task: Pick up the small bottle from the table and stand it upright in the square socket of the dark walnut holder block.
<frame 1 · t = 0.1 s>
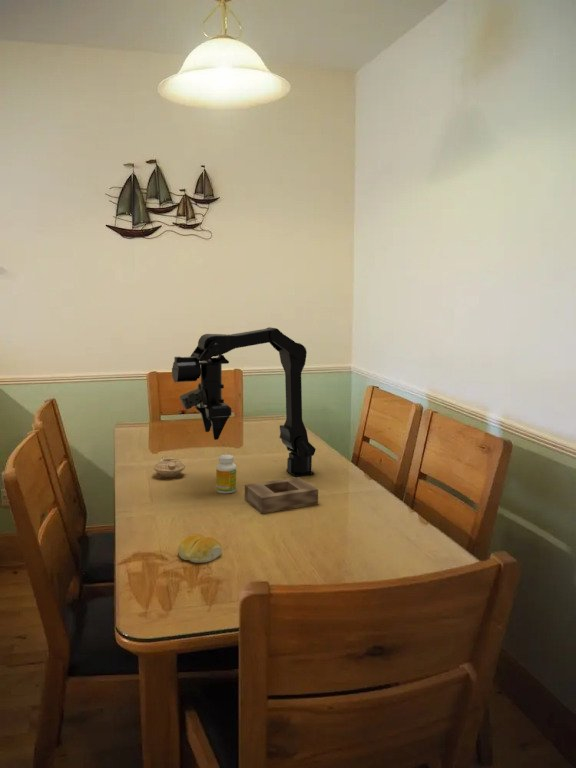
hand: (211, 435, 168), 14 cm above the table, tool pointing down, fingers open, 9 cm apart
bread roll: (200, 555, 127), on the table
walnut holder: (281, 501, 158), on the table
pottery oil lamp: (170, 474, 180), on the table
supplement bottle: (226, 491, 166), on the table
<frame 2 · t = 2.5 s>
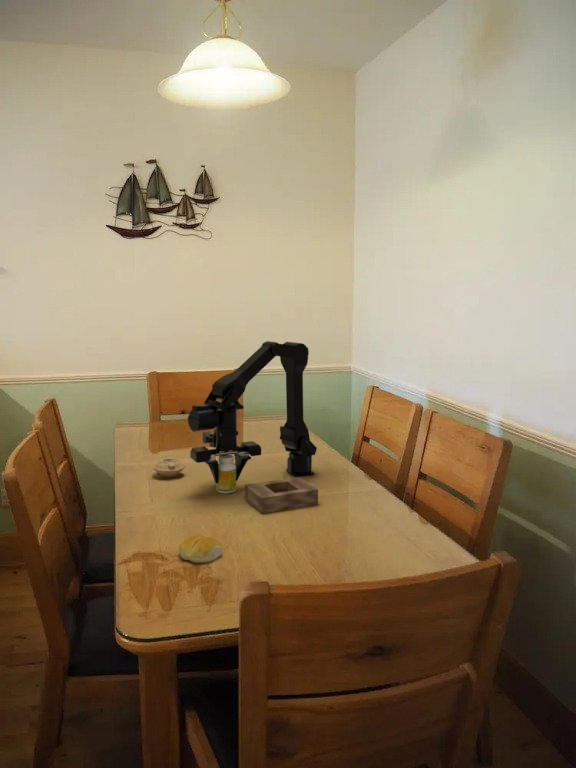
hand: (226, 481, 166), 3 cm above the table, tool pointing down, fingers closed on supplement bottle, 5 cm apart
supplement bottle: (226, 491, 166), on the table, touching gripper
everything else where it was.
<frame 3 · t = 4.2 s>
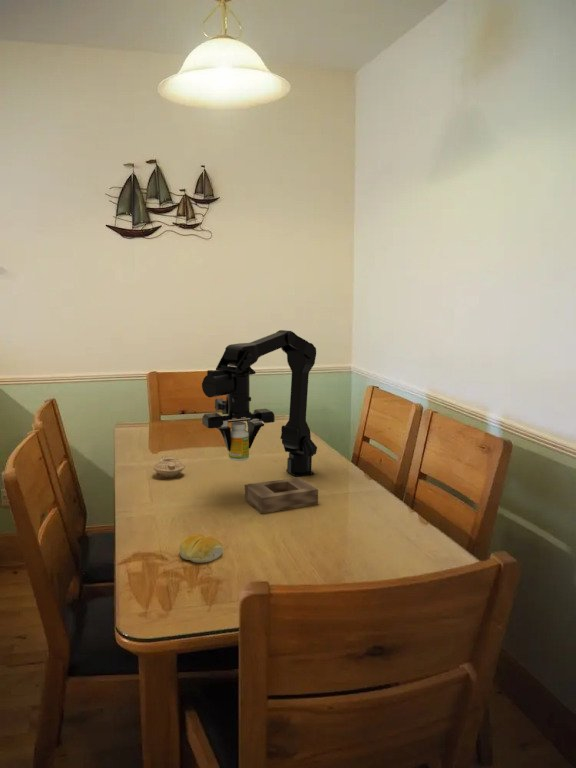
hand: (239, 449, 162), 12 cm above the table, tool pointing down, fingers closed on supplement bottle, 5 cm apart
supplement bottle: (238, 459, 163), point 10 cm above the table, touching gripper
everything else where it was.
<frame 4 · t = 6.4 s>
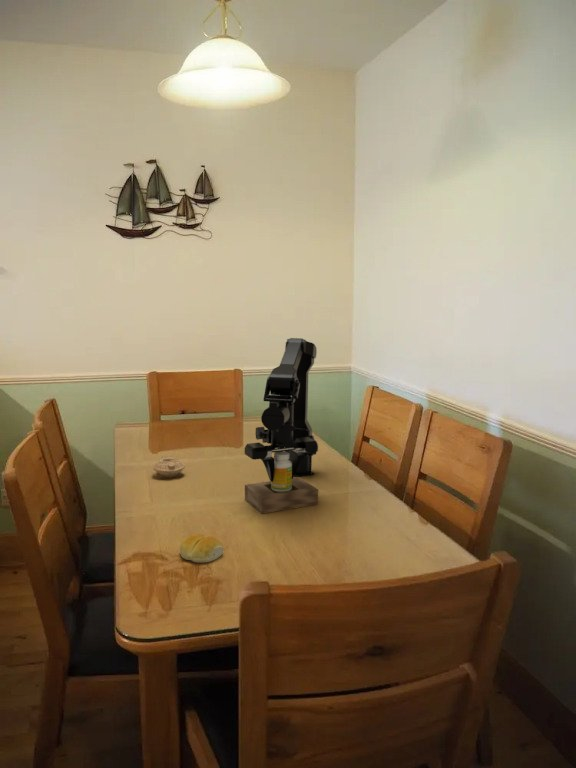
hand: (281, 479, 157), 6 cm above the table, tool pointing down, fingers closed on supplement bottle, 5 cm apart
supplement bottle: (281, 489, 158), point 3 cm above the table, touching gripper
everything else where it was.
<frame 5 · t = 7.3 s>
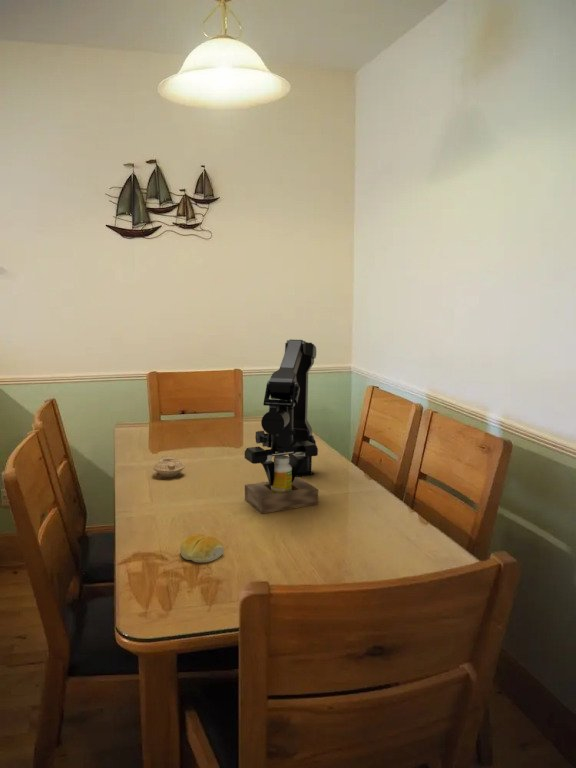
hand: (281, 483, 157), 5 cm above the table, tool pointing down, fingers closed on supplement bottle, 5 cm apart
supplement bottle: (281, 493, 158), point 2 cm above the table, touching gripper
everything else where it was.
when the fingers open (5 cm above the table, at t = 7.5 s): supplement bottle drops 2 cm, resting on walnut holder.
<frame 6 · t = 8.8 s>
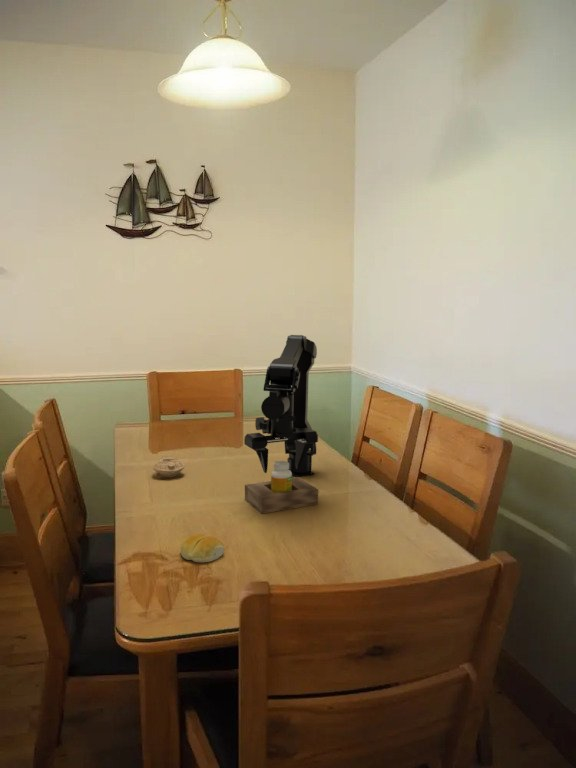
hand: (281, 470, 156), 9 cm above the table, tool pointing down, fingers open, 9 cm apart
supplement bottle: (281, 499, 158), point 1 cm above the table, touching walnut holder
everything else where it was.
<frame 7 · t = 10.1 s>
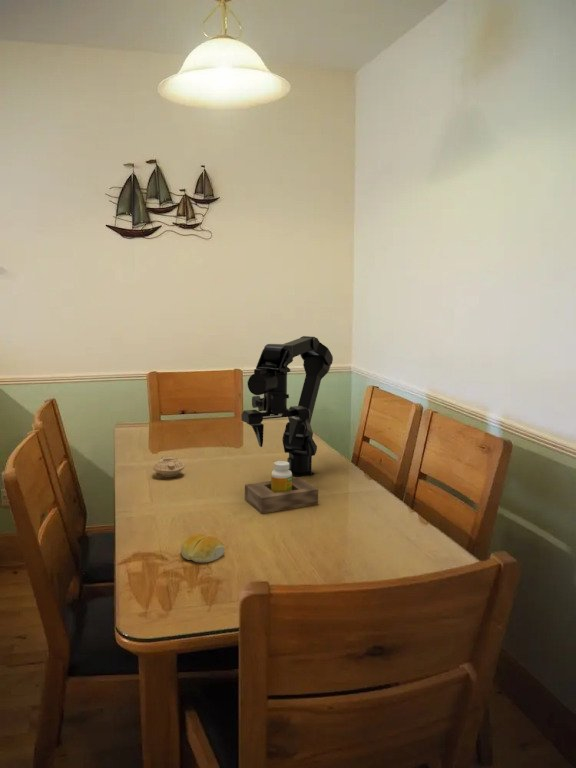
hand: (275, 444, 168), 12 cm above the table, tool pointing down, fingers open, 9 cm apart
nothing on the table moved.
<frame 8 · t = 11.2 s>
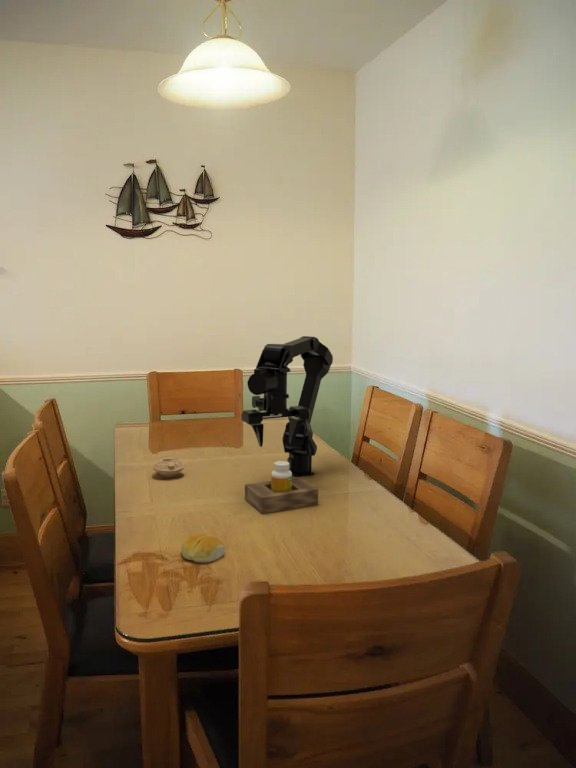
hand: (275, 444, 168), 12 cm above the table, tool pointing down, fingers open, 9 cm apart
nothing on the table moved.
at the end: supplement bottle 0.1 cm off-centre on the walnut holder, point 0.6 cm above the walnut holder's base; supplement bottle tilted 0°; the gripper is holding nothing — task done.
